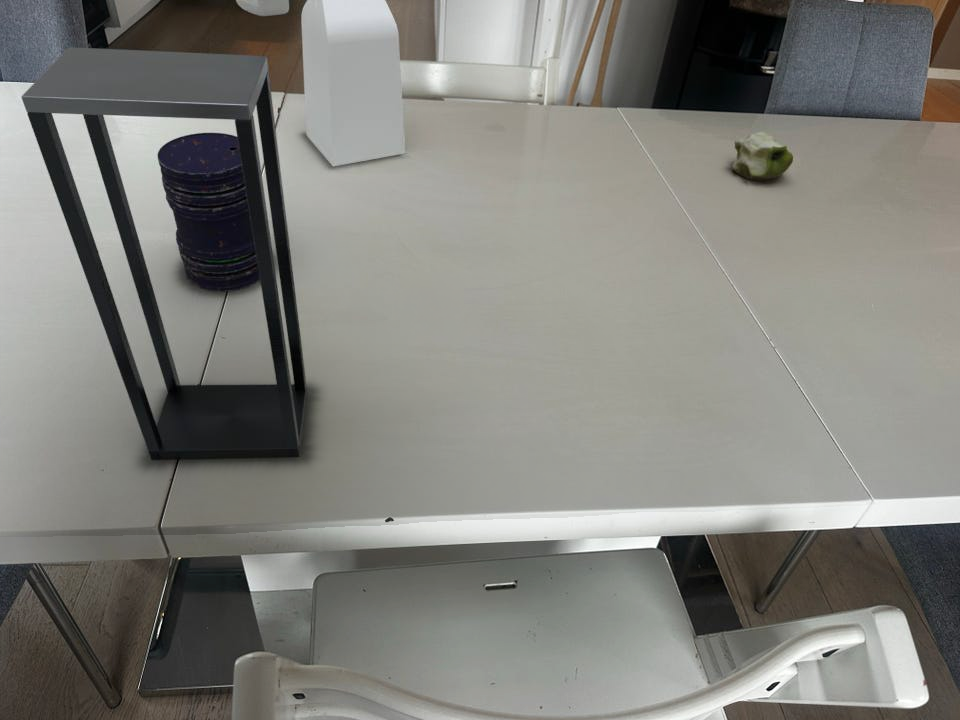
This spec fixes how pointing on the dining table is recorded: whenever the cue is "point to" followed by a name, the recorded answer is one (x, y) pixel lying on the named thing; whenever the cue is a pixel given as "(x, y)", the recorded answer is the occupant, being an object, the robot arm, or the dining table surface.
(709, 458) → the dining table surface
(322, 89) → the milk
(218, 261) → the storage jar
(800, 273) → the dining table surface
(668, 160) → the dining table surface
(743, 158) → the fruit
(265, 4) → the eye dropper bottle
